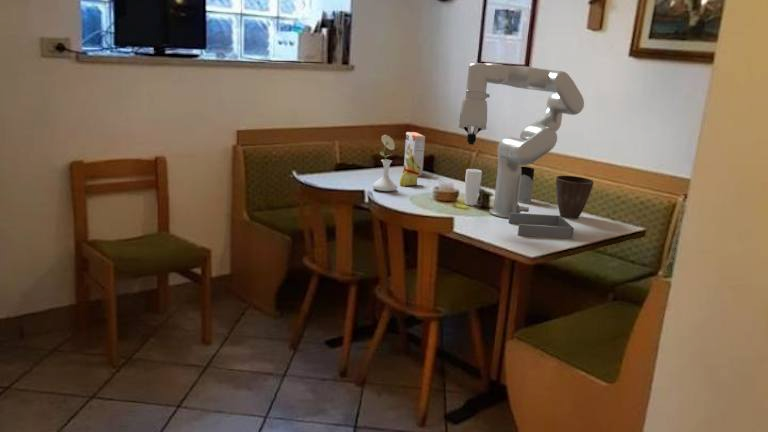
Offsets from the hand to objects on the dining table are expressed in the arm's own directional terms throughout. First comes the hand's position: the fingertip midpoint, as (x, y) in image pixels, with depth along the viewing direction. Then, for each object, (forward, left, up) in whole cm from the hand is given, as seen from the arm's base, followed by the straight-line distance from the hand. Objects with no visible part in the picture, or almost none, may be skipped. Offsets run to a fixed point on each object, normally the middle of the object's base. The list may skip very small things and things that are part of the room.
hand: (470, 144), depth 257 cm
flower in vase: (+31, -41, -29) cm, 59 cm away
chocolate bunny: (+19, -56, -29) cm, 66 cm away
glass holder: (-32, -38, -29) cm, 58 cm away
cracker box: (+15, -85, -29) cm, 91 cm away
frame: (-27, +14, -29) cm, 42 cm away
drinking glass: (-6, -22, -29) cm, 37 cm away
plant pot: (-46, -11, -29) cm, 56 cm away
